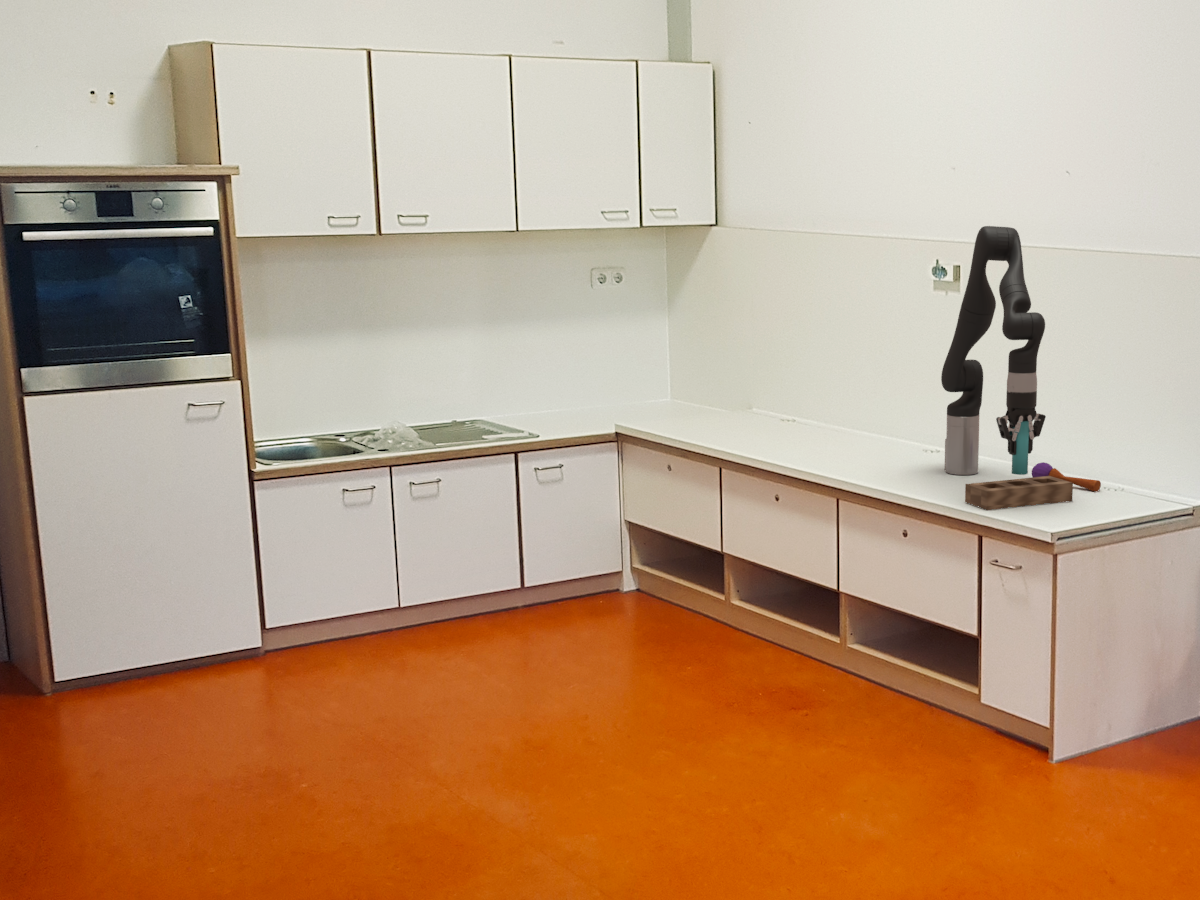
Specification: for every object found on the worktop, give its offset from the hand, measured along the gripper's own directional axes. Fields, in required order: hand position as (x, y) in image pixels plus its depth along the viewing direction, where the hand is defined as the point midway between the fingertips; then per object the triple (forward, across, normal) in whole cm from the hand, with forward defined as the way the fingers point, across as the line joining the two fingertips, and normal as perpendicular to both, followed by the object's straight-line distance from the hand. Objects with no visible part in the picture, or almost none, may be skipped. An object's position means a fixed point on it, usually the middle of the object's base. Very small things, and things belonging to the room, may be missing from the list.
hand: (1019, 453), depth 352 cm
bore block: (+13, 0, 0) cm, 13 cm away
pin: (+5, 0, 0) cm, 5 cm away
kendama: (+13, -23, -12) cm, 29 cm away
